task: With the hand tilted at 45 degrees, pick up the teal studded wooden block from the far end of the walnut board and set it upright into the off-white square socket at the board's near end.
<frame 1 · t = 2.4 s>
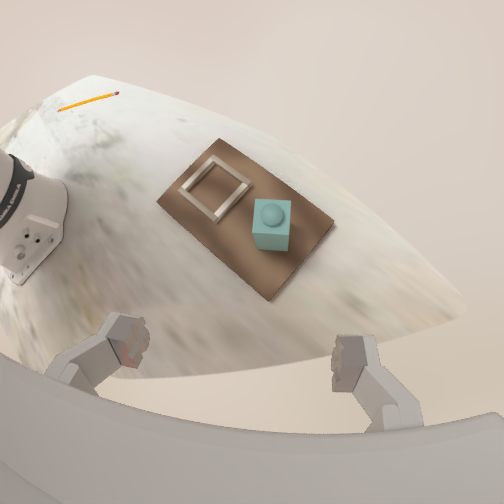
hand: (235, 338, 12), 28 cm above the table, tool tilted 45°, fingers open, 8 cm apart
pencil: (86, 103, 54), on the table
studded block: (273, 235, 40), point 1 cm above the table, touching blueprint board
blueprint board: (241, 213, 42), on the table
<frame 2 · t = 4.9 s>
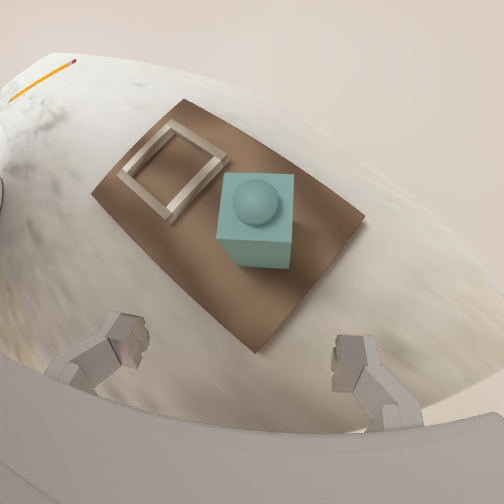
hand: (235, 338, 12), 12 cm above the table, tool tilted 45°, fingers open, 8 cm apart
pencil: (39, 83, 38), on the table
studded block: (264, 242, 23), point 1 cm above the table, touching blueprint board
blueprint board: (213, 206, 26), on the table
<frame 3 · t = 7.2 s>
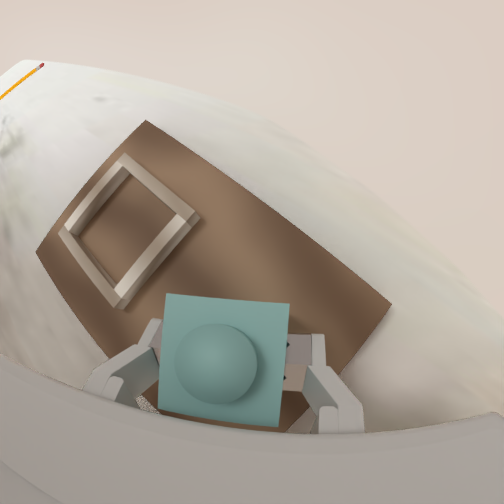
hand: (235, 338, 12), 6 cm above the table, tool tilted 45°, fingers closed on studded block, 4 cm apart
pencil: (5, 96, 30), on the table
studded block: (248, 345, 16), point 1 cm above the table, touching blueprint board, gripper
blueprint board: (181, 280, 19), on the table
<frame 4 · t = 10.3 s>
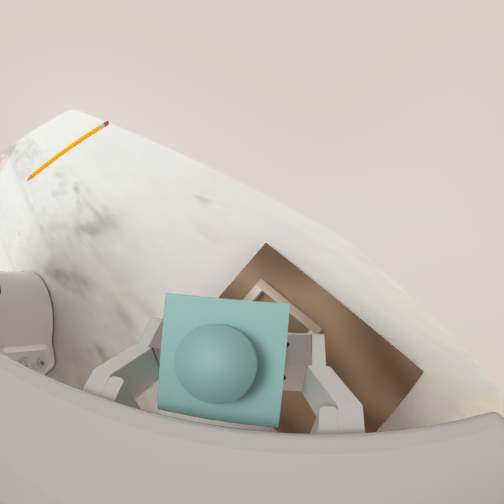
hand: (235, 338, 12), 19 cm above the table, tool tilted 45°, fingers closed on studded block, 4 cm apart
pencil: (64, 153, 41), on the table
studded block: (248, 345, 16), point 14 cm above the table, touching gripper
blueprint board: (304, 363, 29), on the table
when the fingers open (9 cm above the table, at t = 13.7 s): studded block drops 2 cm, resting on blueprint board.
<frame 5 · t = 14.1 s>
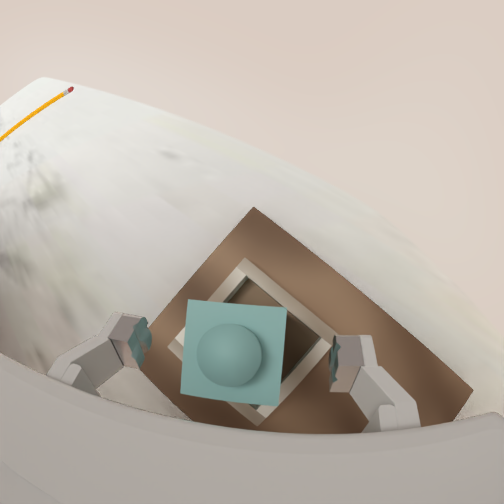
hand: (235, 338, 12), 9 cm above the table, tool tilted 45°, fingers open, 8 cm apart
pencil: (26, 122, 30), on the table
studded block: (251, 342, 18), point 1 cm above the table, touching blueprint board
blueprint board: (310, 386, 19), on the table
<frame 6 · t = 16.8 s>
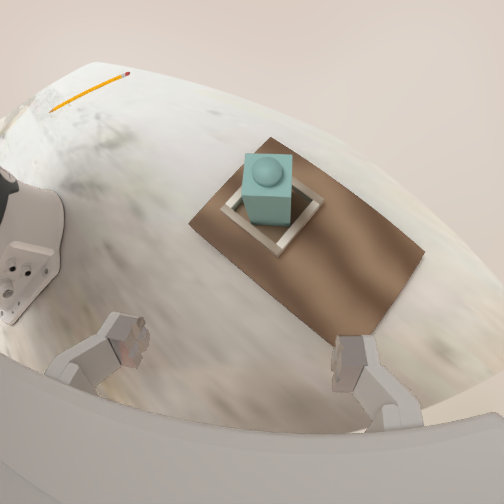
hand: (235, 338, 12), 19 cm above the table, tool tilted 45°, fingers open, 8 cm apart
pencil: (86, 94, 43), on the table
studded block: (271, 207, 31), point 1 cm above the table, touching blueprint board
blueprint board: (309, 240, 31), on the table
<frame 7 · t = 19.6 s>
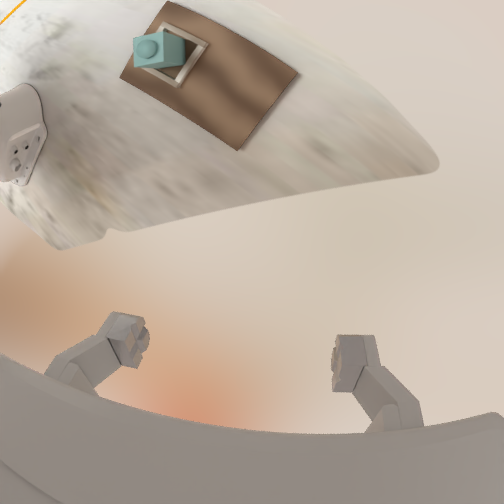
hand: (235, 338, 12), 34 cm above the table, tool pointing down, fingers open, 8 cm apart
pencil: (24, 2, 27), on the table
studded block: (171, 53, 33), point 1 cm above the table, touching blueprint board
blueprint board: (203, 70, 35), on the table
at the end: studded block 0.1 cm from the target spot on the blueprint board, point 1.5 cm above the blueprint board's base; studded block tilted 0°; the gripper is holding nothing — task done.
